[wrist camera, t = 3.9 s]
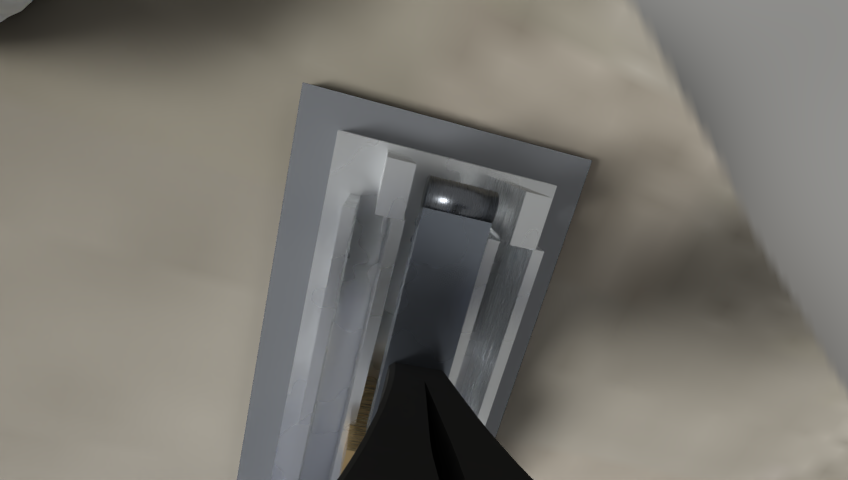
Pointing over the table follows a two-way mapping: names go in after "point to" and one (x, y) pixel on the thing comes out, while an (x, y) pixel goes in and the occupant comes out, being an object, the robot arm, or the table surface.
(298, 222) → the slate board
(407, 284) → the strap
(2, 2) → the ramekin
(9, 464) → the table surface
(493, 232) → the grey slide rail
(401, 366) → the robot arm
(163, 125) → the table surface
